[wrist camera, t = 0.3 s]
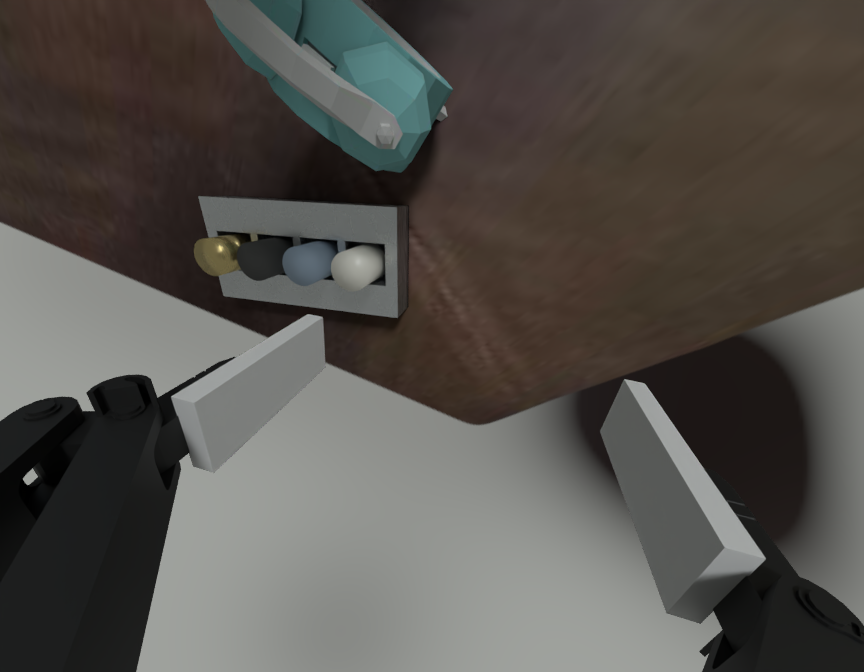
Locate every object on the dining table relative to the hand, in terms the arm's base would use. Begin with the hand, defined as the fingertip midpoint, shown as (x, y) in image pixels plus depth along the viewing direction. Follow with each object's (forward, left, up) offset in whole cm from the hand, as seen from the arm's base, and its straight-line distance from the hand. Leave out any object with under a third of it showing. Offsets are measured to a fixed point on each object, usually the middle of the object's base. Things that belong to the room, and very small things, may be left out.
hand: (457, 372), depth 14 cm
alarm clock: (-16, -13, -28) cm, 34 cm away
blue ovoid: (+1, -21, -25) cm, 32 cm away
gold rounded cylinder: (+1, -33, -25) cm, 41 cm away
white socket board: (+1, -24, -28) cm, 36 cm away
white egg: (+1, -15, -25) cm, 29 cm away
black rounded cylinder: (+1, -27, -25) cm, 37 cm away
